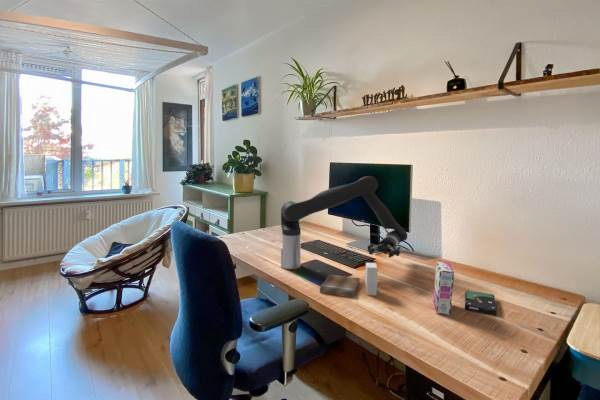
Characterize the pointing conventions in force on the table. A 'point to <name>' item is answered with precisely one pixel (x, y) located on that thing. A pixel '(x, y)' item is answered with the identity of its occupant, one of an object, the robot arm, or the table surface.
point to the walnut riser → (340, 285)
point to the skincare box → (371, 279)
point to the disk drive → (480, 302)
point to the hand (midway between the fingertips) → (379, 254)
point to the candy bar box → (443, 288)
